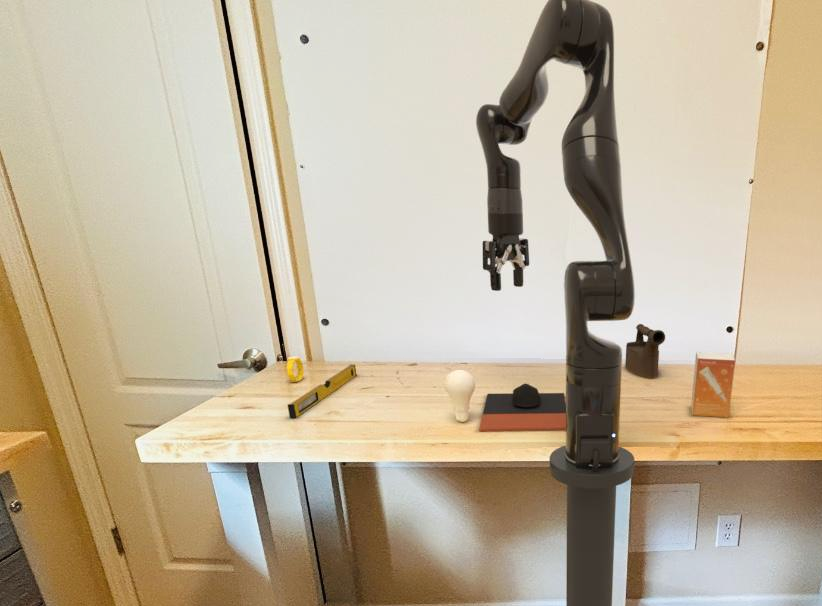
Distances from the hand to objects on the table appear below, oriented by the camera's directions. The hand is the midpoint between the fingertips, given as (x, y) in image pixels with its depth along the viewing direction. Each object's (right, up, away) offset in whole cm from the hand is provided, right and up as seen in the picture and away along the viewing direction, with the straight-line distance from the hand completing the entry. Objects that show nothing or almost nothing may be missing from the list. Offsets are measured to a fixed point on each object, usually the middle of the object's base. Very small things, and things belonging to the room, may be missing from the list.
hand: (507, 288), depth 136 cm
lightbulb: (-8, -31, -10) cm, 33 cm away
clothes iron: (+33, -16, +29) cm, 47 cm away
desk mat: (+4, -28, -3) cm, 29 cm away
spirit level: (-43, -24, +5) cm, 49 cm away
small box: (+45, -28, -1) cm, 54 cm away
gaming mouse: (+4, -25, +3) cm, 25 cm away
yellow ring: (-55, -19, +15) cm, 60 cm away
